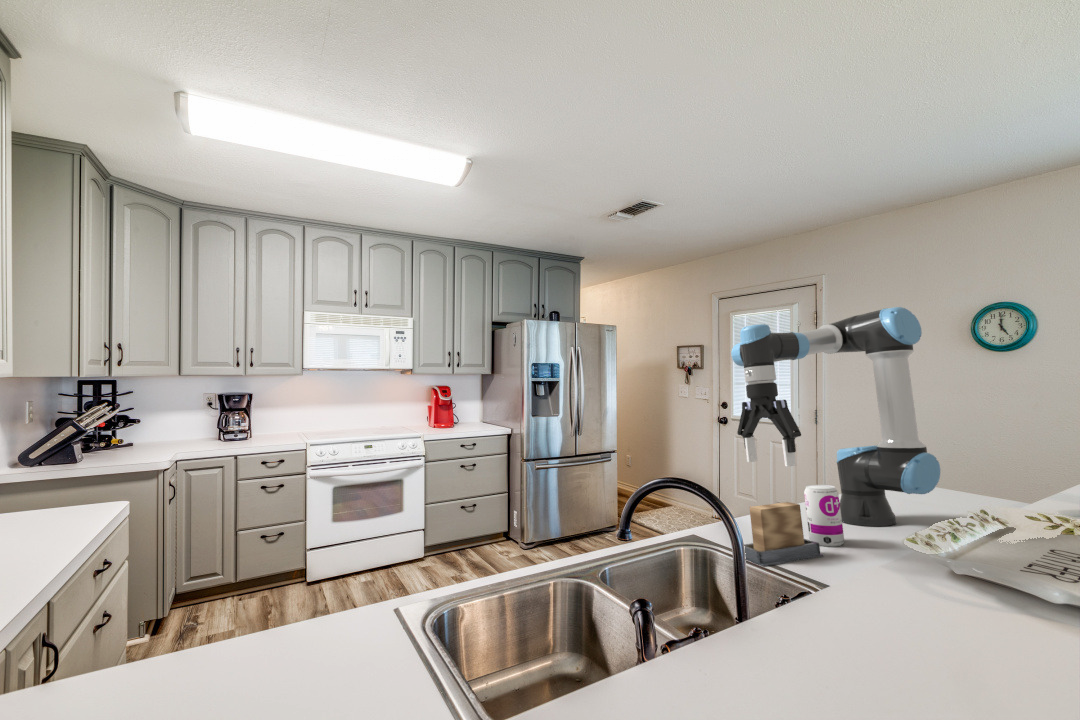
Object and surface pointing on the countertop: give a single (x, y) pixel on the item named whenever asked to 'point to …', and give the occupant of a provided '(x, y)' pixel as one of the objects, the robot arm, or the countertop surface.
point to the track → (783, 553)
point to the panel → (776, 526)
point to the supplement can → (824, 515)
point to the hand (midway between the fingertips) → (770, 463)
